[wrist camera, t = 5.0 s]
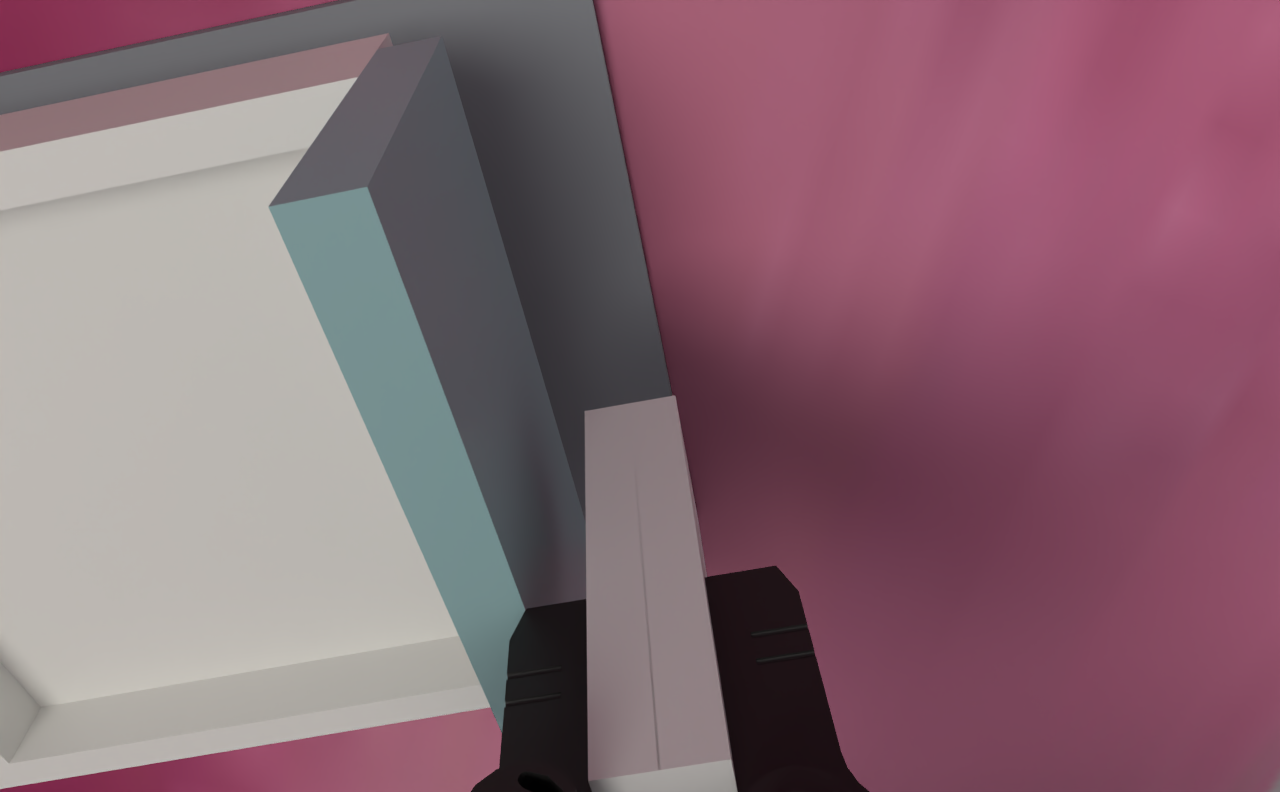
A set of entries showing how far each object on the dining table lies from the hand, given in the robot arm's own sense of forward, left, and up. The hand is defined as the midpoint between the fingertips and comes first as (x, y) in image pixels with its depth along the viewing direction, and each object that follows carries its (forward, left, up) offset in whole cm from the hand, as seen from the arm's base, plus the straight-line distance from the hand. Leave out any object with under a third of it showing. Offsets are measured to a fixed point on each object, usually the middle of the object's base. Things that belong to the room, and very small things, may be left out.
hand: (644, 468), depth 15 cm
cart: (0, +10, -6) cm, 11 cm away
